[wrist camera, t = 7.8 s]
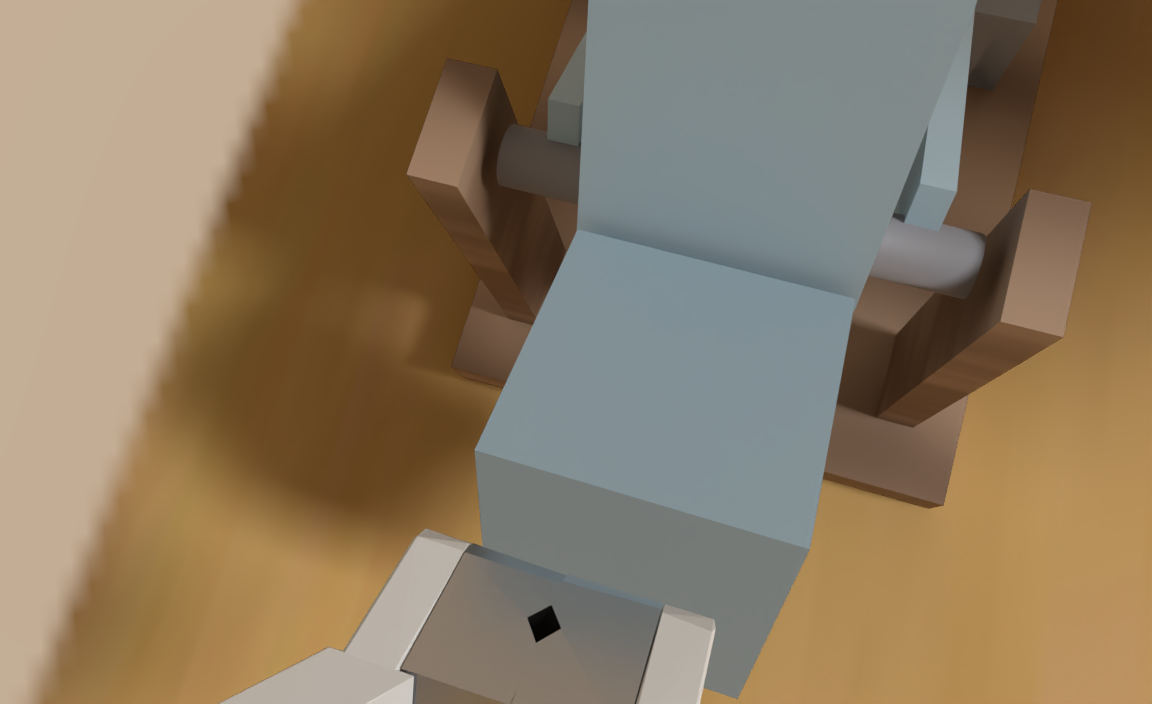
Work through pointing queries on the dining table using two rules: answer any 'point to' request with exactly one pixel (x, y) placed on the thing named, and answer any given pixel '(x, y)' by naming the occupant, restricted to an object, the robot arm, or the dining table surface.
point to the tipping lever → (717, 286)
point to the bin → (998, 37)
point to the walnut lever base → (884, 311)
